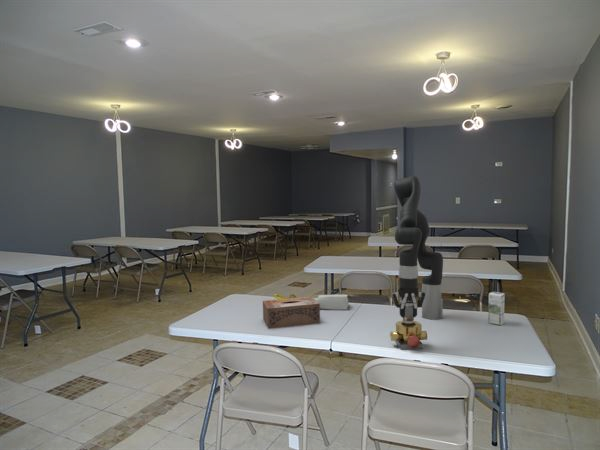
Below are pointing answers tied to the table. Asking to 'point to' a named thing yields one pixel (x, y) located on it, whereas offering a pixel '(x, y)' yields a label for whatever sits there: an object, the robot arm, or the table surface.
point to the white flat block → (333, 302)
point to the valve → (408, 335)
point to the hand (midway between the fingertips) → (408, 316)
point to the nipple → (408, 313)
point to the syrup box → (496, 308)
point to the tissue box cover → (291, 312)
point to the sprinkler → (284, 297)
